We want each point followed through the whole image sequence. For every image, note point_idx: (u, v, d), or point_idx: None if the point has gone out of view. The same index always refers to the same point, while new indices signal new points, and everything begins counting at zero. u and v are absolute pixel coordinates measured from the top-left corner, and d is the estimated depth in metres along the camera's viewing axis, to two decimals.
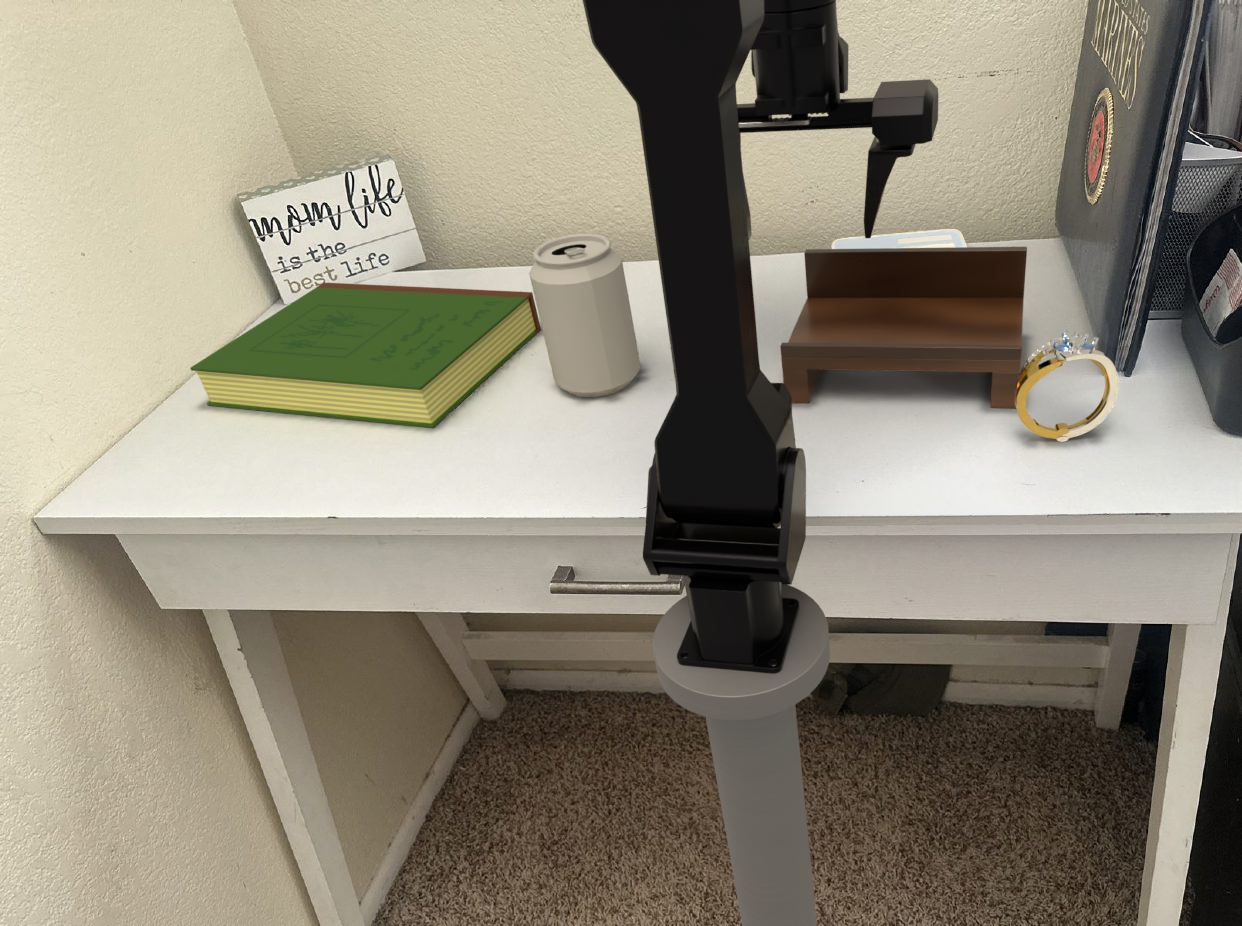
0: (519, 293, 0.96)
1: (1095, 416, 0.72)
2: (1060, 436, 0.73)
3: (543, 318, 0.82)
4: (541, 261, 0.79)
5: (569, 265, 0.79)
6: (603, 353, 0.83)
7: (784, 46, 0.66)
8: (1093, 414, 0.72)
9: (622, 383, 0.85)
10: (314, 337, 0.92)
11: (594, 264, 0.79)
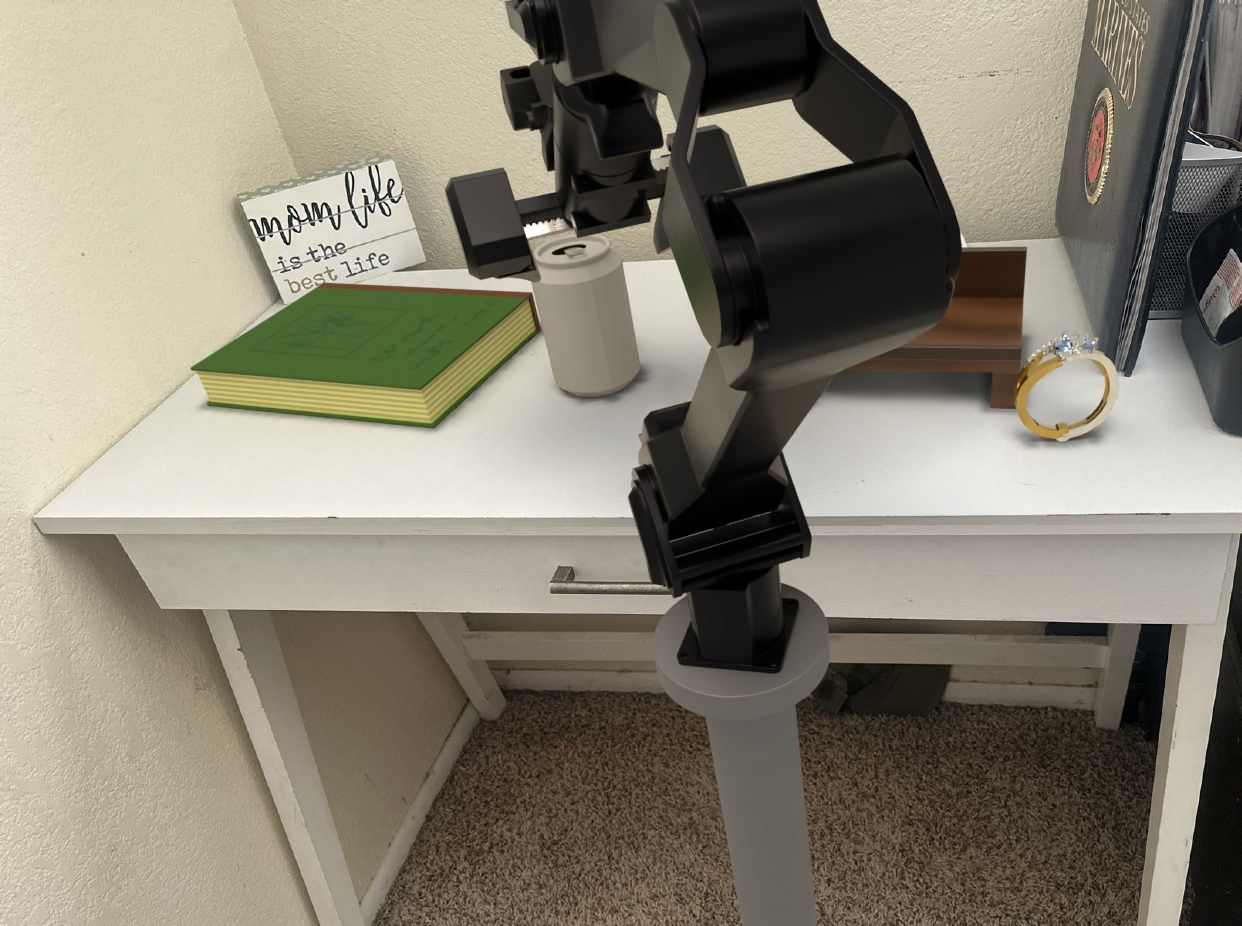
0: (519, 293, 0.96)
1: (1095, 416, 0.72)
2: (1060, 436, 0.73)
3: (543, 318, 0.82)
4: (541, 261, 0.79)
5: (569, 265, 0.79)
6: (603, 353, 0.83)
7: (615, 194, 0.60)
8: (1093, 414, 0.72)
9: (622, 383, 0.85)
10: (314, 337, 0.92)
11: (594, 264, 0.79)
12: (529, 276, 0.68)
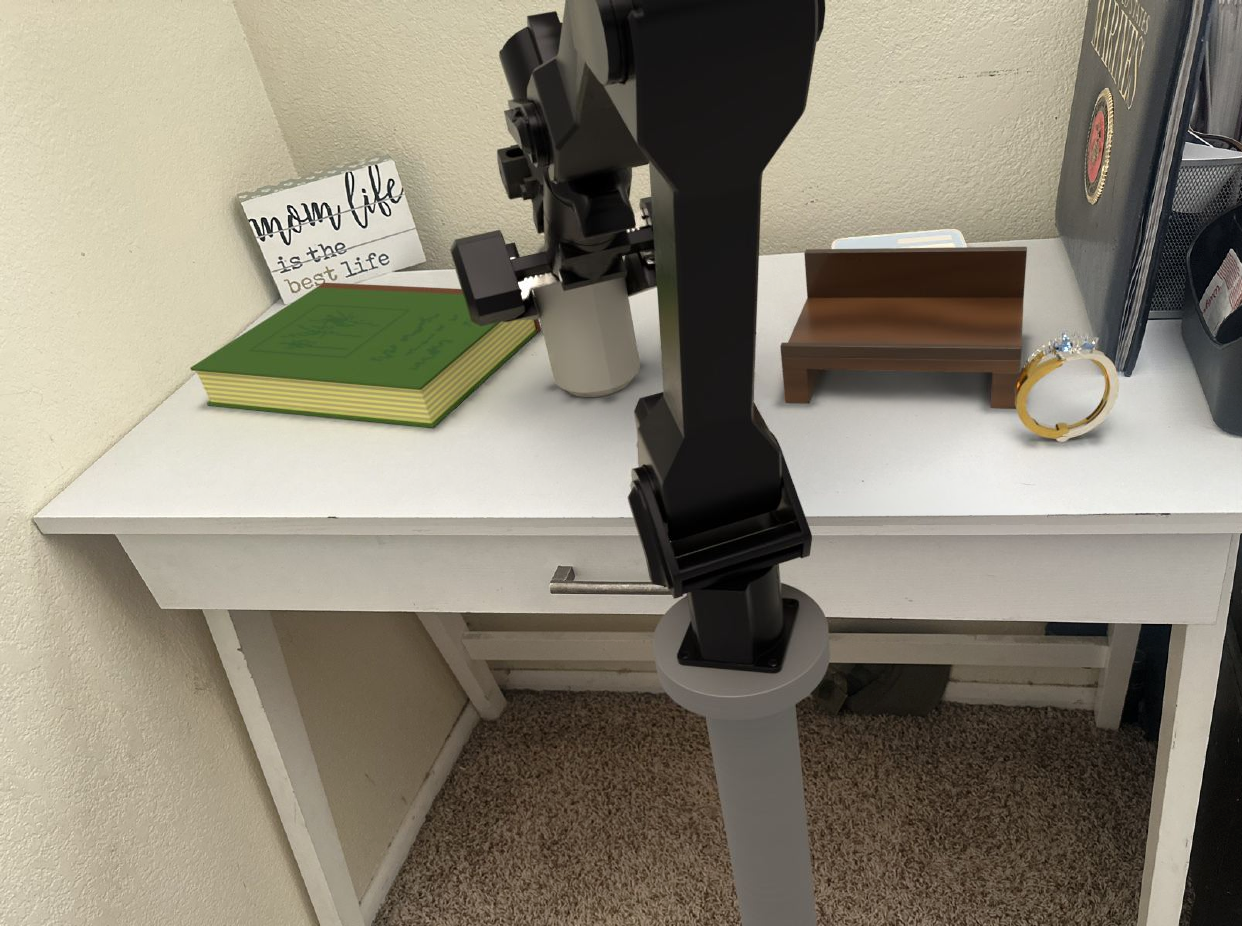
0: None
1: (1095, 416, 0.72)
2: (1060, 436, 0.73)
3: (543, 318, 0.82)
4: None
5: None
6: (603, 353, 0.83)
7: (595, 258, 0.71)
8: (1093, 414, 0.72)
9: (622, 383, 0.85)
10: (314, 337, 0.92)
11: None
12: (531, 317, 0.79)
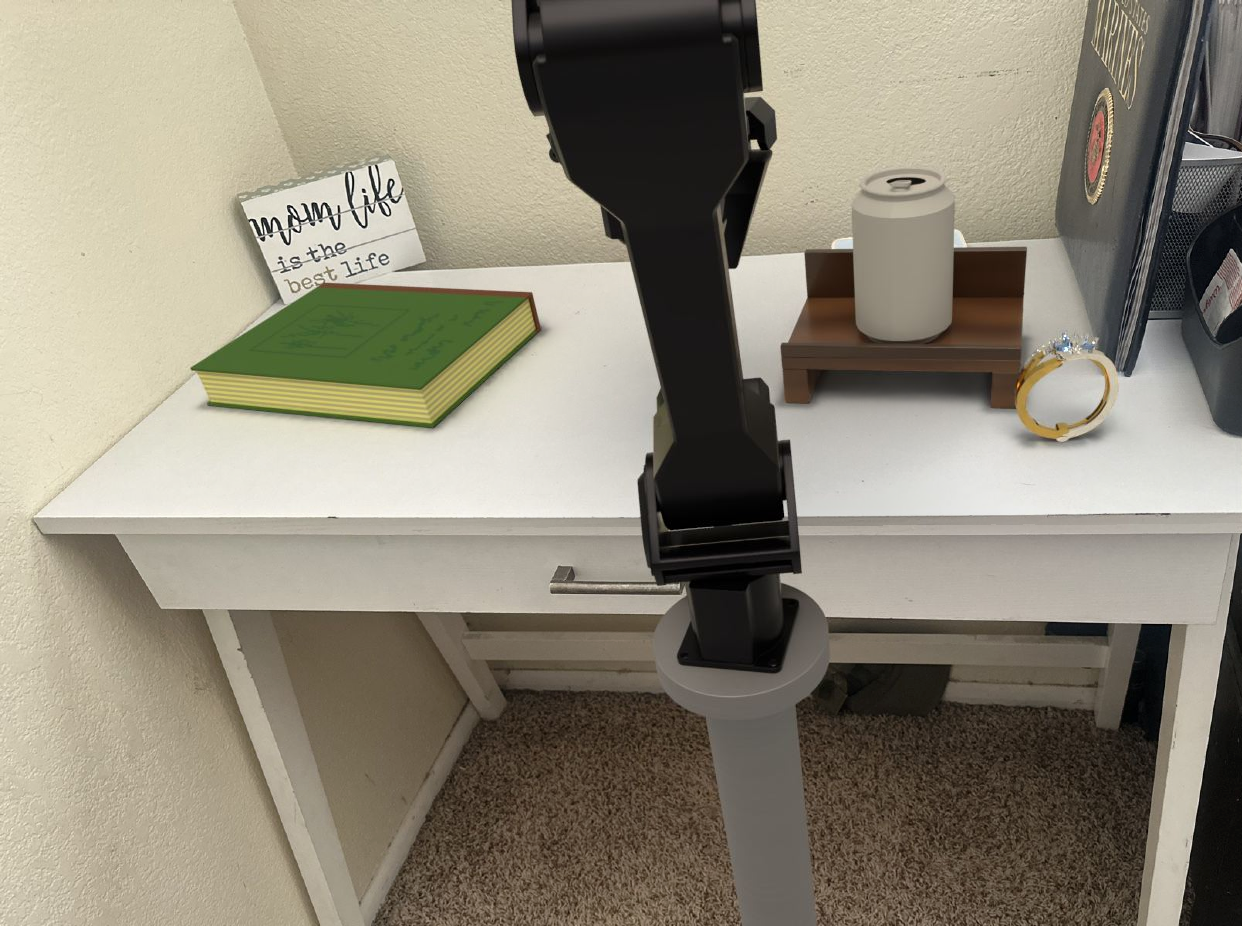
0: (519, 293, 0.96)
1: (1095, 416, 0.72)
2: (1060, 436, 0.73)
3: None
4: (860, 184, 0.74)
5: (877, 196, 0.72)
6: (889, 300, 0.75)
7: None
8: (1093, 414, 0.72)
9: (905, 340, 0.77)
10: (314, 337, 0.92)
11: (904, 202, 0.72)
12: None
